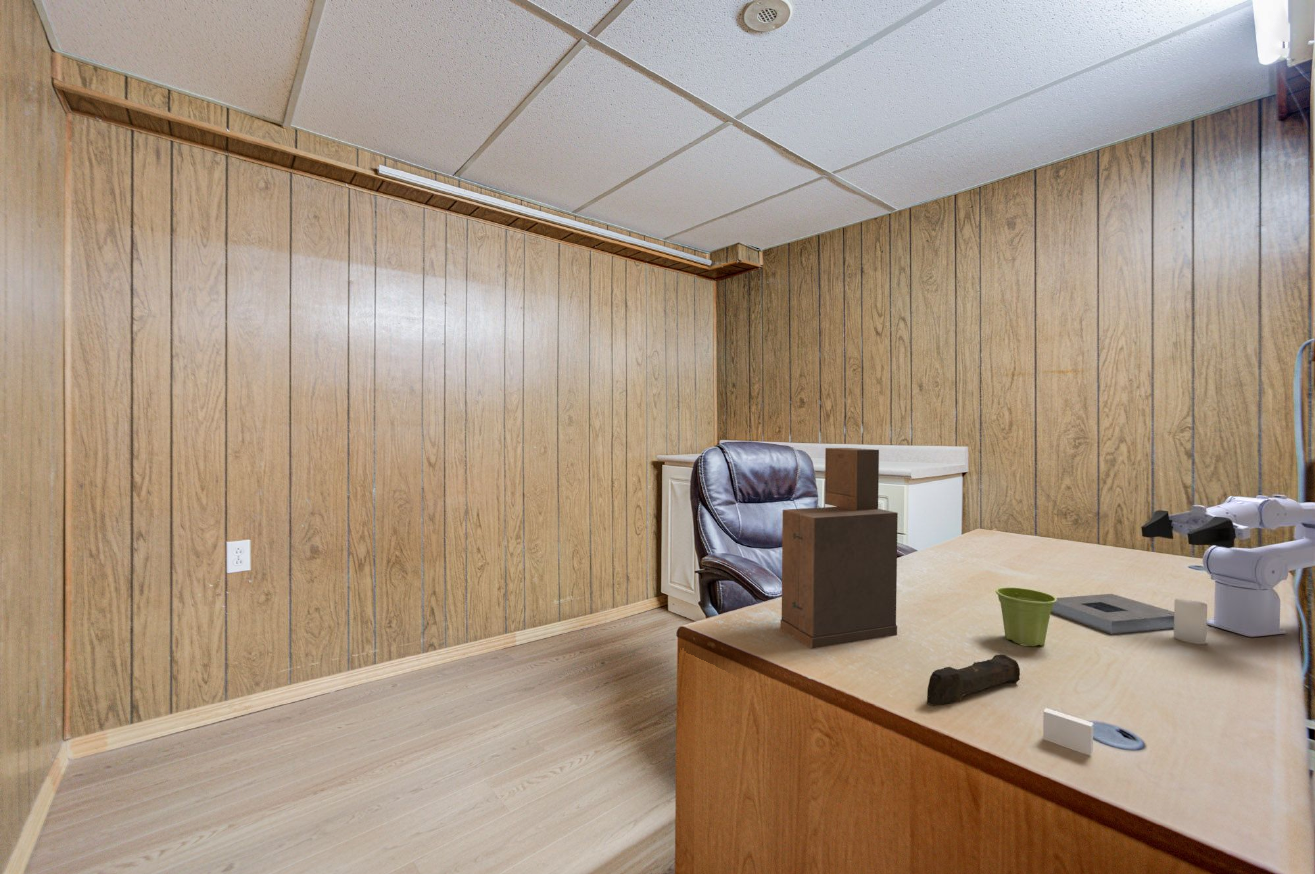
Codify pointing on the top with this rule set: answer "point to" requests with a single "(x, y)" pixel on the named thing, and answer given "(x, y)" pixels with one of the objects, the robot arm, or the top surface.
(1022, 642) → the plant pot
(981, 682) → the dark brown ridged bar
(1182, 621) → the white rounded cylinder
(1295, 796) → the top surface
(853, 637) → the stacked wooden boxes
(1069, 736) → the eraser
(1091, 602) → the plate
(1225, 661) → the top surface
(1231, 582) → the robot arm
